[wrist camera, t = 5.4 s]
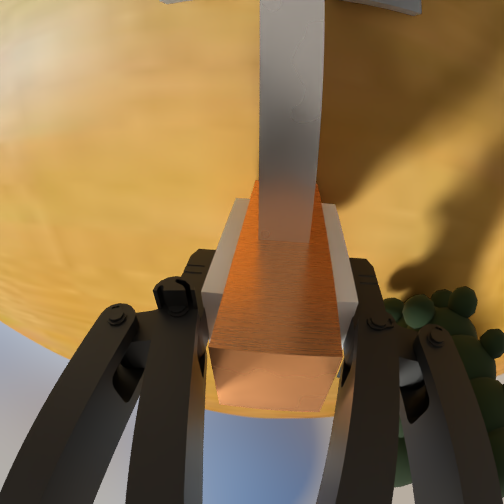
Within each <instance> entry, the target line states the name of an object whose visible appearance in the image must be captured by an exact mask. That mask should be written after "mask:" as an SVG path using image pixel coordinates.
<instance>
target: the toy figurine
mask: <svg viewBox="0 0 504 504" xmlns="http://www.w3.org/2000/svg"><path fill="white" fill-rule="evenodd" d="M383 302H384V306H385V309H386V312H388V313H390V314H391V315H392V316H393V318H394V319H395V321H396V324H397V325H399V326H401V327H404V328H407V329H410V330H414V331H418V332H419V330H420V329H421V328H422V327H423V326H424V325H427V324H437V325H439V326H441V327H443V328H444V329H446V330H447V331H448V332H449V334H450V335H451V337H452V339H453V341H454V344H455V346H456V348H457V350H458V353H459V355H460V358H461V360H462V362H463V365H464V367H465V370H466V372H467V375H468V377H469V380H470V383H471V385H472V388H473V391H474V393H475V396H476V399H477V402H478V405H479V408H480V411H481V414H482V417H483V420H484V423H485V427H486V430H487V433H488V437H489V440H490V444H491V448H492V452H493V456H494V460H495V464H496V468H497V473H498V478H499V483H500V488H501V494H502V498H503V497H504V384H503V385H502V384H501V383H500V382H499V381H498V380H496V364H495V360H494V359H496V358H499V357H500V356H501V355H502V354H503V353H504V333H503V332H502V331H501V330H500V329H490V330H487V331H486V332H485V333H484V334H483V335H482V336H481V337H480V341H479V340H478V338H477V333H476V330H475V327H474V325H473V324H472V323H471V321H470V320H469V319H468V318H469V317H470V316H471V315H473V314H474V313H475V310H476V306H477V297H476V295H475V292H474V291H473V290H472V289H470V288H468V287H466V286H465V287H460V288H457V289H456V290H455V291H454V292H453V293H452V292H451V291H449V290H446V289H444V290H438V291H436V292H435V293H434V294H433V295H432V297H431V299H429V298H428V297H427V296H426V295H424V294H421V295H415V296H413V297H411V298H409V299H408V300H407V301H406V302H405V303H403V302H402V301H401V300H399V299H396V298H388V299H384V300H383ZM411 483H412V478H411V472H410V465H409V460H408V454H407V449H406V443H405V438H404V433H403V428H402V424H401V419H400V414H399V436H398V452H397V463H396V473H395V482H394V487H401V486H405V485H408V484H411Z"/></svg>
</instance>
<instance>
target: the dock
mask: <svg viewBox="0 0 504 504" xmlns="http://www.w3.org/2000/svg"><path fill="white" fill-rule="evenodd" d="M183 1H190V0H160V2H163V3H166V4H171V3H177V2H183ZM341 1H348V2H354V3H360V4H365V5H371V6H375V7H380V8H385V9H389V10H393V11H397V12H401V13H405V14H408V15H412V16H416V15H419V14H422V10H421V0H341Z"/></svg>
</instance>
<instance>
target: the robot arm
mask: <svg viewBox="0 0 504 504" xmlns="http://www.w3.org/2000/svg"><path fill="white" fill-rule="evenodd" d="M249 201H250V199H243V198H236V199H235V202H234V204H233V207H232V210H231V212H230V215H229V217H228V220H227V223H226V225H225V228H224V231H223V233H222V236H221V238H220V241H219V244H218V247H217V249H216V250H207V249H198V250H197V251H196V252H195V253H194V254H192V255H191V257H190V259H189V261H188V263H187V266H186V267H185V269H184V273H183V274H182V276H181V277H178V276H175V277H169V278H166V279H164V280H161V281H160V282H159V283H158V284H157V285H156V286H155V287H154V289H153V293H154V296H155V300H156V303H157V307H158V309H157V310H153V311H147V312H139V313H135V310H134V309H133V308H132V307H131V306H130V305H128V304H122V303H119V304H114V305H111V306H110V307H108V308H106V309H105V310H104V311H103V312H102V313H101V315H100V316H99V318H98V319H97V320H96V322H95V323H94V325H93V326H92V328H91V329H90V331H89V332H88V334H87V335H86V337H85V338H84V340H83V341H82V343H81V344H80V346H79V347H78V349H77V351H76V352H75V354H74V355H73V357H72V358H71V360H70V362H69V363H68V365H67V366H66V368H65V370H64V371H63V373H62V375H61V376H60V378H59V379H58V381H57V383H56V384H55V386H54V388H53V389H52V391H51V393H50V395H49V396H48V398H47V400H46V402H45V403H44V405H43V407H42V409H41V410H40V412H39V414H38V416H37V418H36V420H35V421H34V423H33V425H32V427H31V429H30V431H29V433H28V434H27V437H26V439H25V440H24V443H23V444H22V446H21V449H20V450H19V452H18V454H17V457H16V459H15V461H14V463H13V465H12V467H11V469H10V471H9V474H8V476H7V479H6V480H5V483H4V485H3V487H2V490H1V492H0V504H93V502H94V500H95V497H96V495H97V492H98V490H99V487H100V485H101V482H102V480H103V478H104V475H105V473H106V470H107V468H108V466H109V463H110V461H111V458H112V456H113V454H114V451H115V449H116V447H117V445H118V442H119V440H120V438H121V436H122V433H123V431H124V429H125V427H126V424H127V422H128V420H129V418H130V415H131V413H132V411H133V409H134V407H135V404H136V402H137V400H138V398H139V396H140V398H139V405H138V410H137V416H136V423H135V429H134V435H133V442H132V450H131V457H130V465H129V473H128V482H127V492H126V504H202V485H203V438H204V411H205V389H206V369H207V353H206V346H207V342H208V339H209V343H210V339H211V335H212V332H213V328H214V324H215V321H216V317H217V314H218V310H219V306H220V303H221V299H222V296H223V292H224V288H225V285H226V281H227V278H228V274H229V271H230V267H231V264H232V260H233V257H234V253H235V250H236V246H237V243H238V239H239V236H240V232H241V229H242V225H243V222H244V219H245V215H246V212H247V208H248V205H249ZM321 204H322V209H323V215H324V220H325V226H326V232H327V238H328V244H329V250H330V257H331V263H332V270H333V277H334V284H335V292H336V299H337V308H338V316H339V325H340V334H341V344H342V350H343V347H344V360H343V363H342V365H341V368H340V370H339V372H338V375H337V377H338V378H340V380H339V387H338V394H337V401H336V408H335V414H334V420H333V426H332V432H331V438H330V443H329V448H328V454H327V458H326V463H325V468H324V472H323V477H322V481H321V485H320V489H319V494H318V498H317V502H316V504H392V497H393V490H394V482H395V473H396V463H397V452H398V436H399V414H400V419H401V424H402V428H403V433H404V438H405V443H406V449H407V454H408V460H409V465H410V472H411V478H412V485H413V492H414V499H415V504H503V501H502V494H501V488H500V483H499V478H498V473H497V468H496V464H495V460H494V456H493V452H492V448H491V444H490V440H489V437H488V433H487V430H486V427H485V423H484V420H483V417H482V414H481V411H480V408H479V405H478V402H477V399H476V396H475V393H474V391H473V388H472V385H471V383H470V380H469V377H468V375H467V372H466V370H465V367H464V365H463V362H462V360H461V358H460V355H459V353H458V350H457V348H456V346H455V344H454V341H453V339H452V337H451V335H450V334H449V332H448V331H447V330H446V329H444V328H443V327H441V326H439V325H437V324H427V325H424V326H423V327H422V328H421V329H420V330H419V332H418V331H414V330H410V329H407V328H404V327H401V326H399V325H397V324H396V321H395V319H394V318H393V316H392V315H391V314H390V313H388V312H386V309H385V306H384V302H383V298H382V295H381V291H380V288H379V285H378V281H377V278H376V275H375V271H374V268H373V266H372V265H371V264H370V263H369V262H368V261H367V259H361V258H349V256H348V252H347V248H346V244H345V240H344V236H343V232H342V228H341V224H340V220H339V216H338V213H337V209H336V205H335V204H327V203H321Z"/></svg>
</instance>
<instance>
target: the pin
mask: <svg viewBox="0 0 504 504" xmlns="http://www.w3.org/2000/svg"><path fill="white" fill-rule="evenodd" d="M324 20H325V0H260V128H259V180H256V181H255V185H254V188H253V191H252V195H251V198H250V201H249V205H248V208H247V212H246V215H245V219H244V222H243V225H242V229H241V232H240V236H239V239H238V243H237V246H236V250H235V253H234V257H233V260H232V264H231V267H230V271H229V274H228V278H227V281H226V285H225V288H224V292H223V296H222V299H221V303H220V306H219V310H218V314H217V317H216V321H215V324H214V328H213V332H212V335H211V339H210V343H209V346H208V348H209V353H210V359H211V364H212V369H213V374H214V379H215V384H216V389H217V394H218V399H219V404H222V405H229V406H237V407H246V408H256V409H267V410H281V411H299V412H320V410H321V407H322V405H323V403H324V401H325V398H326V396H327V394H328V392H329V389H330V387H331V385H332V382H333V380H334V377H335V375H336V373H337V370H338V368H339V365H340V363H341V360H342V357H343V355H342V344H341V334H340V325H339V316H338V308H337V299H336V292H335V284H334V277H333V270H332V263H331V257H330V250H329V244H328V238H327V232H326V226H325V220H324V215H323V209H322V204H321V199H320V193H319V188H318V184H316V175H317V163H318V152H319V139H320V124H321V109H322V90H323V66H324Z"/></svg>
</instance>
